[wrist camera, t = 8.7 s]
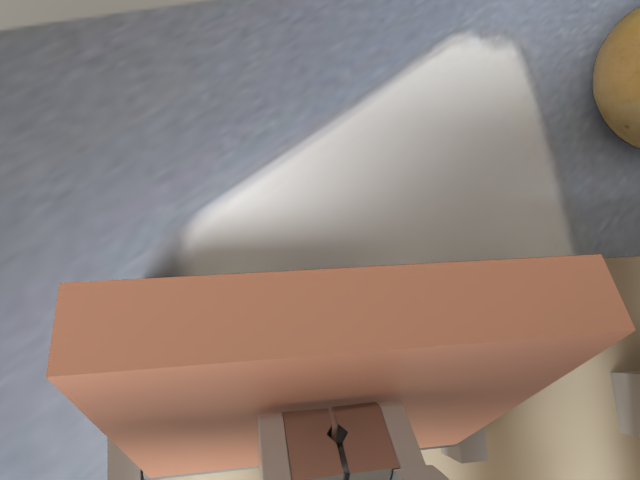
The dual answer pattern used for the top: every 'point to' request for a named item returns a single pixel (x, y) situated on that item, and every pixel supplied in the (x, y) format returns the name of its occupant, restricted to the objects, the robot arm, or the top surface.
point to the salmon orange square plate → (322, 349)
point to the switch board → (537, 421)
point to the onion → (620, 79)
